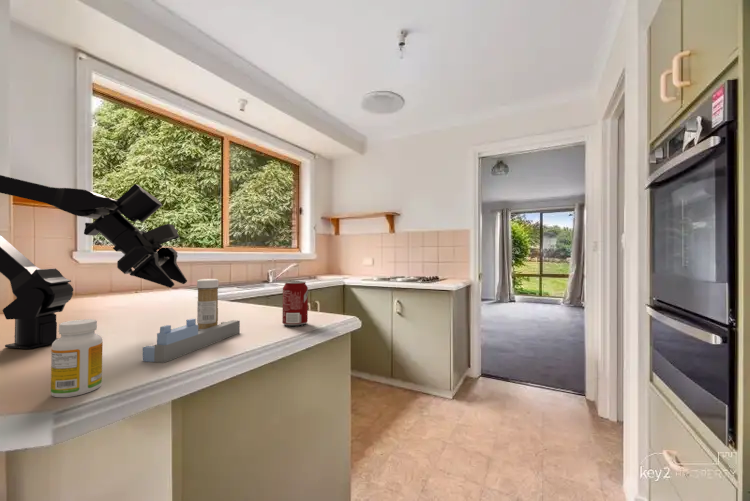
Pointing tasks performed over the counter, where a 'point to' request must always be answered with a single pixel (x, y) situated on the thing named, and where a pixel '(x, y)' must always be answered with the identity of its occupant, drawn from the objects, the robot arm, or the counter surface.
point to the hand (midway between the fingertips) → (179, 284)
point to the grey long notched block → (186, 339)
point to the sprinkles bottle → (207, 303)
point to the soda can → (295, 303)
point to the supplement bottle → (76, 359)
